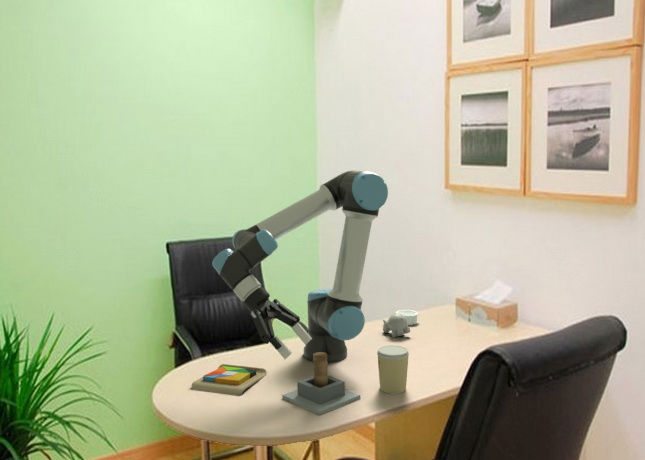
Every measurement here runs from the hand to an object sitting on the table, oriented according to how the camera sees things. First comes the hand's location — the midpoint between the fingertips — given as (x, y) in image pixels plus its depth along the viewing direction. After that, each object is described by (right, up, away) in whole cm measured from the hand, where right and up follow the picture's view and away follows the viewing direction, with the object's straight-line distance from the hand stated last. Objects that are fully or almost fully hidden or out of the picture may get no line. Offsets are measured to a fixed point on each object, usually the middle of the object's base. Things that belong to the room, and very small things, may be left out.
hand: (299, 348), depth 183 cm
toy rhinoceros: (+34, -6, +57) cm, 67 cm away
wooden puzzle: (-22, -13, +14) cm, 29 cm away
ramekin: (+41, -3, +73) cm, 84 cm away
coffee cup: (+28, -13, +6) cm, 31 cm away
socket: (+6, -14, 0) cm, 16 cm away
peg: (+7, -13, 0) cm, 15 cm away
